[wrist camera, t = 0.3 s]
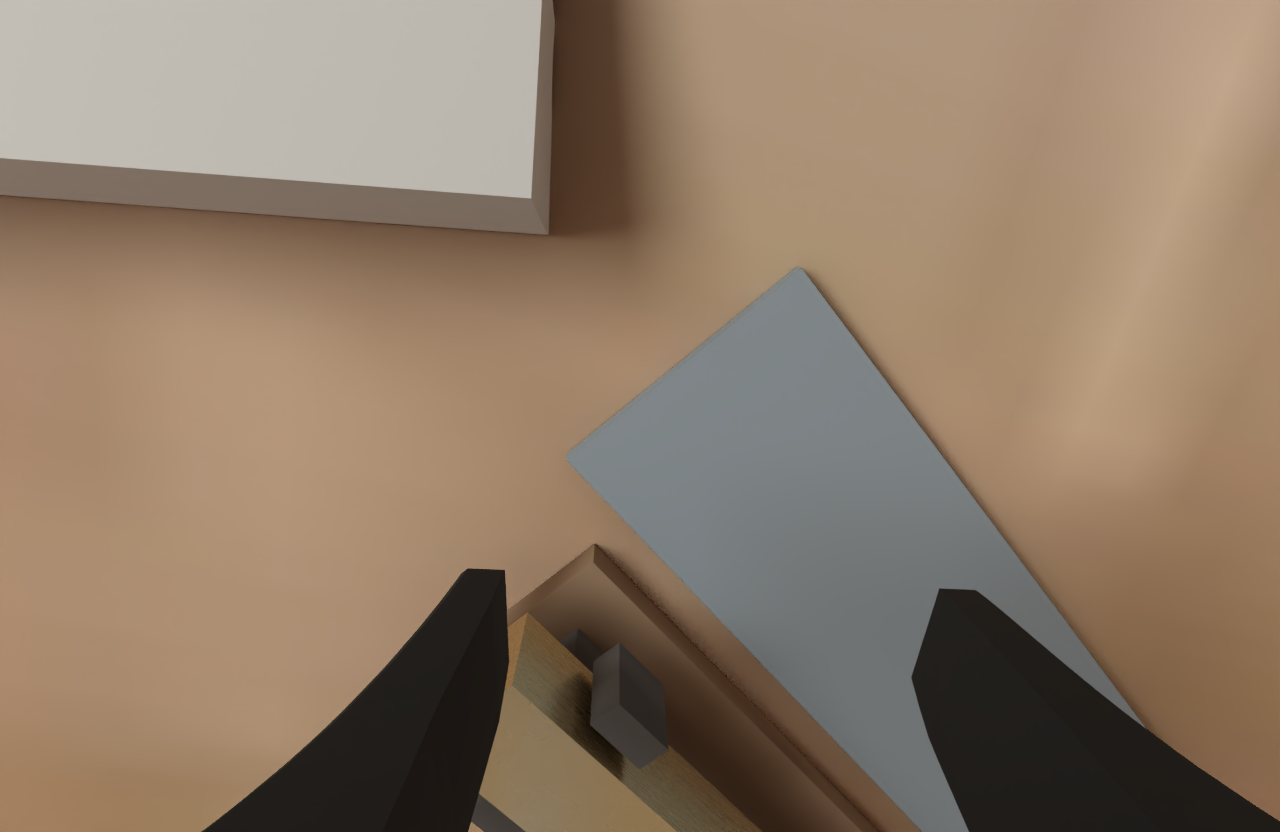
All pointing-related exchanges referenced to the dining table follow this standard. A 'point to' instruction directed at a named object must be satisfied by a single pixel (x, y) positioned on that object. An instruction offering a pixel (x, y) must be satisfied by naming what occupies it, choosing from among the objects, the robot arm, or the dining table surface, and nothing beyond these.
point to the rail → (583, 757)
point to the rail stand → (674, 703)
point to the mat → (817, 527)
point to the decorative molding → (284, 107)
